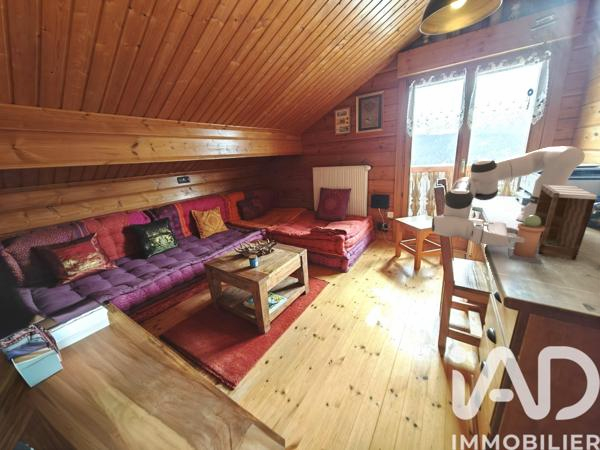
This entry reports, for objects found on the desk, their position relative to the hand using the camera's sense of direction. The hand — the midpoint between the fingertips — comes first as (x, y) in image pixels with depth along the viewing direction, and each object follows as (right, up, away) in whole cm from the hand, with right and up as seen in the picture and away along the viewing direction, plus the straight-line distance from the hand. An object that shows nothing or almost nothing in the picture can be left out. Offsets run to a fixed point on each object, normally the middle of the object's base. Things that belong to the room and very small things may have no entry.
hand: (523, 236), depth 87 cm
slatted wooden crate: (+19, -4, +10) cm, 22 cm away
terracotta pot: (+1, -7, +1) cm, 7 cm away
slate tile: (+2, -8, +2) cm, 8 cm away
